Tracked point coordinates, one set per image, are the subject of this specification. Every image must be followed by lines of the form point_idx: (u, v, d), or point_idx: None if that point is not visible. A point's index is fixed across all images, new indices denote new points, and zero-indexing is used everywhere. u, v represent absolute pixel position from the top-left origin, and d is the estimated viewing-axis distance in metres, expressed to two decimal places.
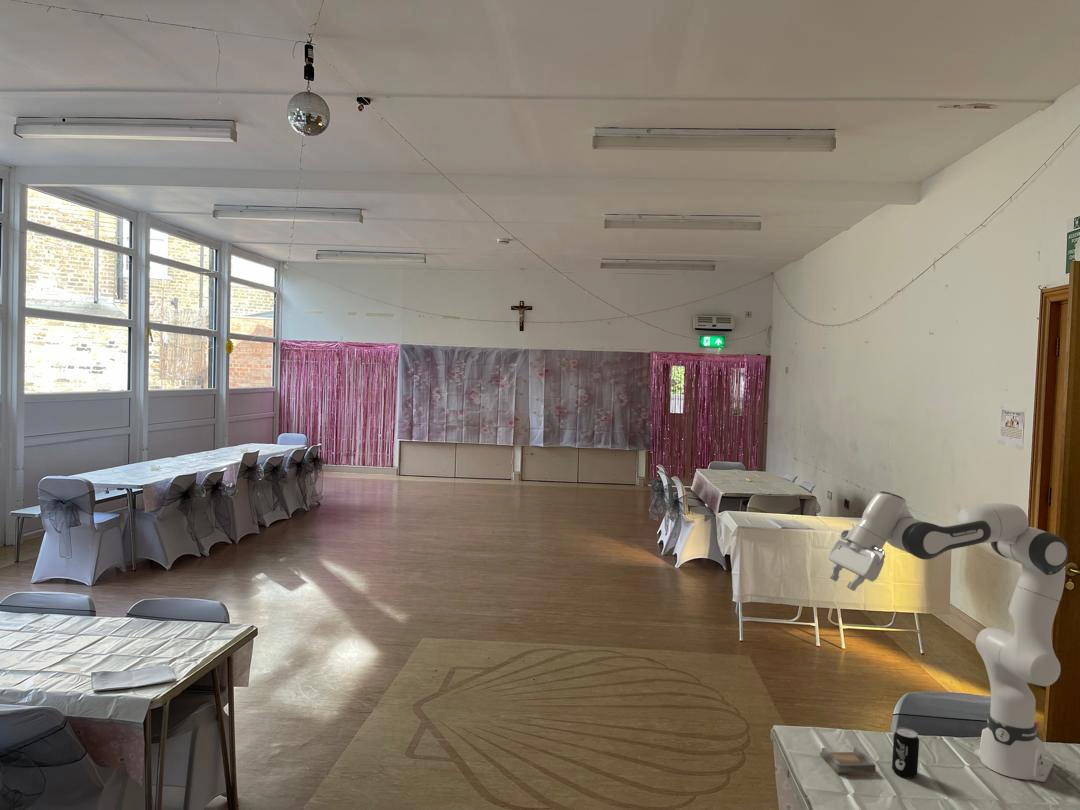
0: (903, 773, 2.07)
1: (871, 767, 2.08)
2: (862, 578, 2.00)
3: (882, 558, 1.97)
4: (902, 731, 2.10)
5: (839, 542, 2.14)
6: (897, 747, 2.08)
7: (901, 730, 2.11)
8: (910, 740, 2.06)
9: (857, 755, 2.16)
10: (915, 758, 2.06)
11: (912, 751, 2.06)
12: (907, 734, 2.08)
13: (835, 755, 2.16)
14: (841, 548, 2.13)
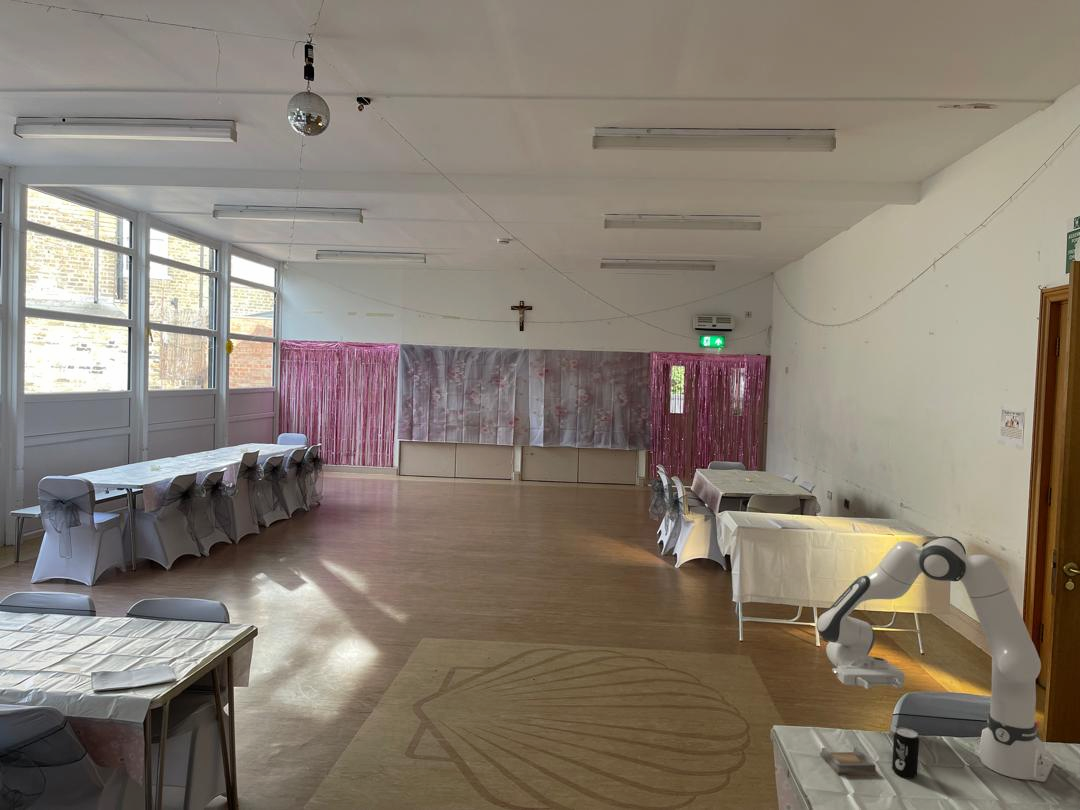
0: (903, 773, 2.07)
1: (871, 767, 2.08)
2: (856, 679, 2.24)
3: (833, 671, 2.31)
4: (902, 731, 2.10)
5: None
6: (897, 747, 2.08)
7: (901, 730, 2.11)
8: (910, 740, 2.06)
9: (857, 755, 2.16)
10: (915, 758, 2.06)
11: (912, 751, 2.06)
12: (907, 734, 2.08)
13: (835, 755, 2.16)
14: None
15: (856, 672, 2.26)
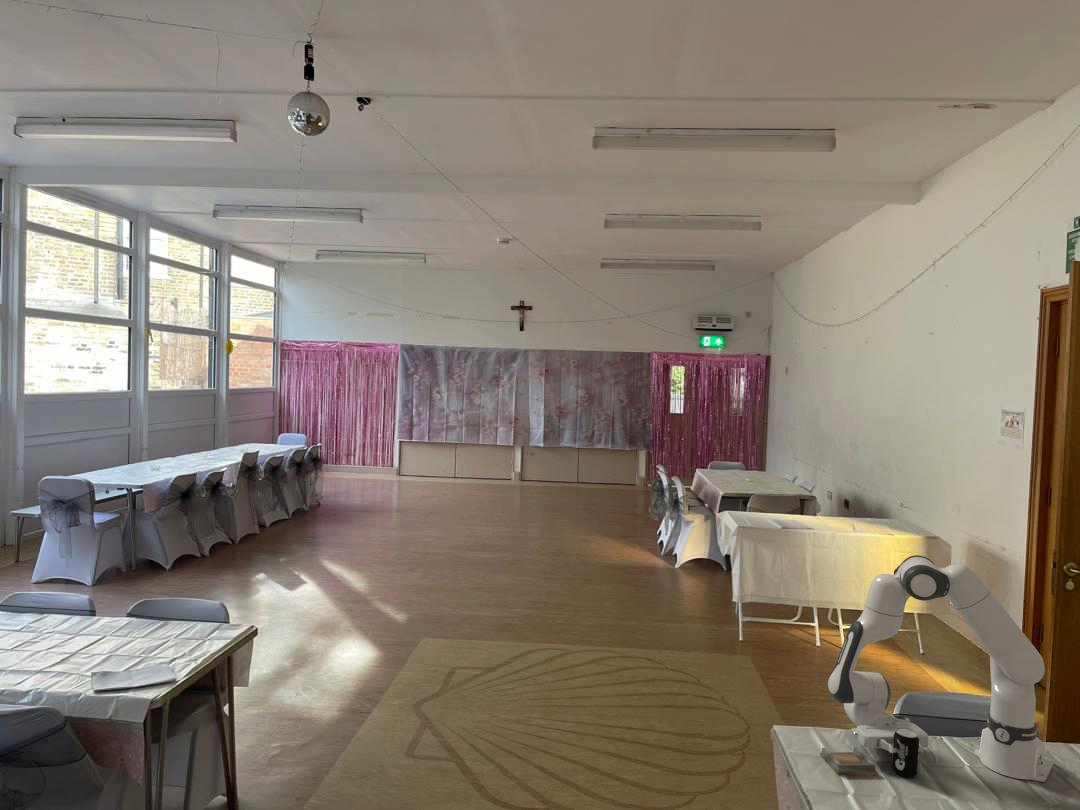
0: (903, 773, 2.07)
1: (871, 767, 2.08)
2: (880, 742, 2.12)
3: (852, 731, 2.19)
4: (902, 731, 2.10)
5: None
6: (897, 747, 2.08)
7: (901, 730, 2.11)
8: (910, 740, 2.06)
9: (857, 755, 2.16)
10: (915, 758, 2.06)
11: (912, 751, 2.06)
12: (907, 734, 2.08)
13: (835, 755, 2.16)
14: None
15: (877, 733, 2.14)
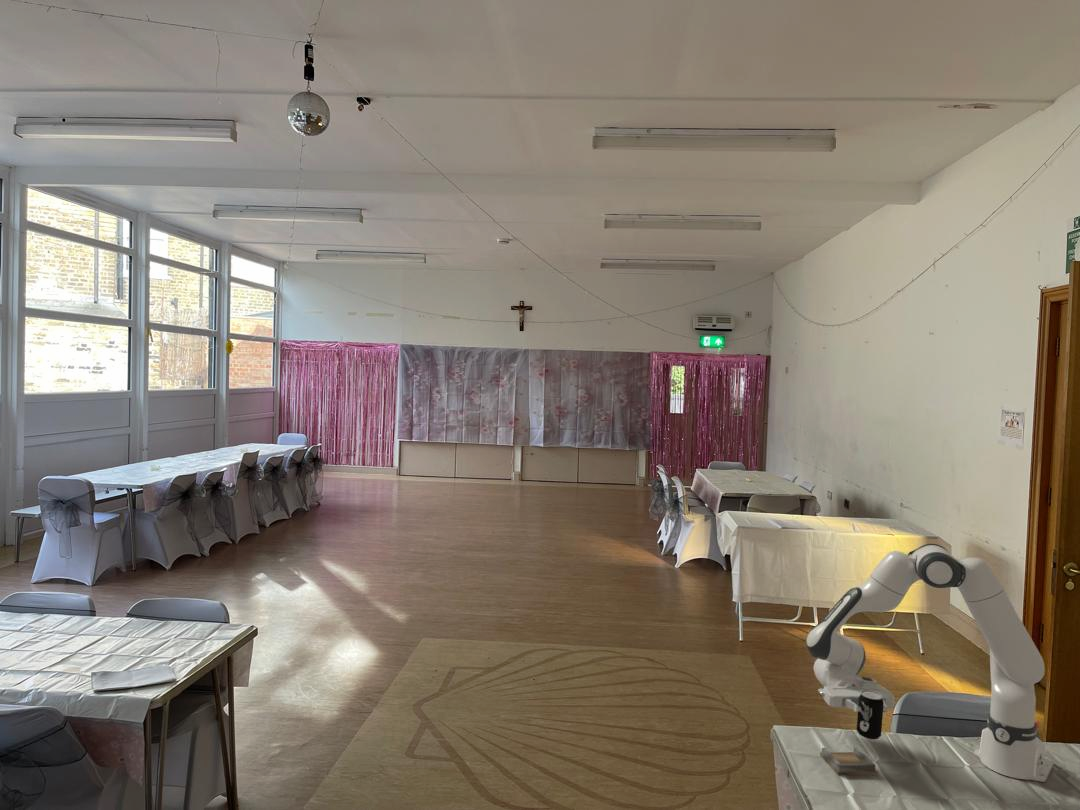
0: (867, 735, 2.09)
1: (871, 767, 2.08)
2: (845, 701, 2.14)
3: (819, 692, 2.21)
4: (867, 693, 2.12)
5: None
6: (862, 709, 2.10)
7: (866, 692, 2.13)
8: (874, 701, 2.08)
9: (857, 755, 2.16)
10: (879, 719, 2.08)
11: (876, 712, 2.08)
12: (872, 696, 2.10)
13: (835, 755, 2.16)
14: None
15: (843, 693, 2.16)
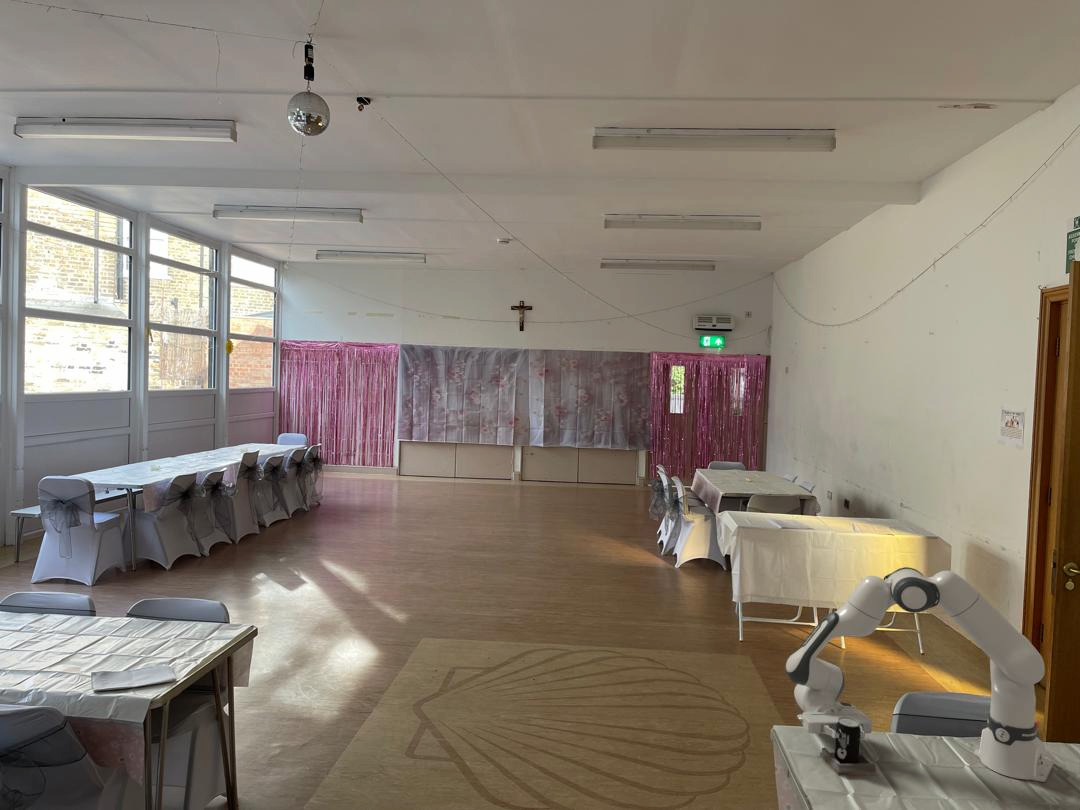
0: (844, 762, 2.10)
1: (871, 767, 2.08)
2: (824, 728, 2.15)
3: (798, 718, 2.22)
4: (844, 720, 2.14)
5: None
6: (839, 736, 2.11)
7: (843, 719, 2.14)
8: (851, 729, 2.10)
9: None
10: (856, 747, 2.10)
11: (853, 740, 2.09)
12: (849, 723, 2.12)
13: None
14: None
15: (821, 719, 2.17)
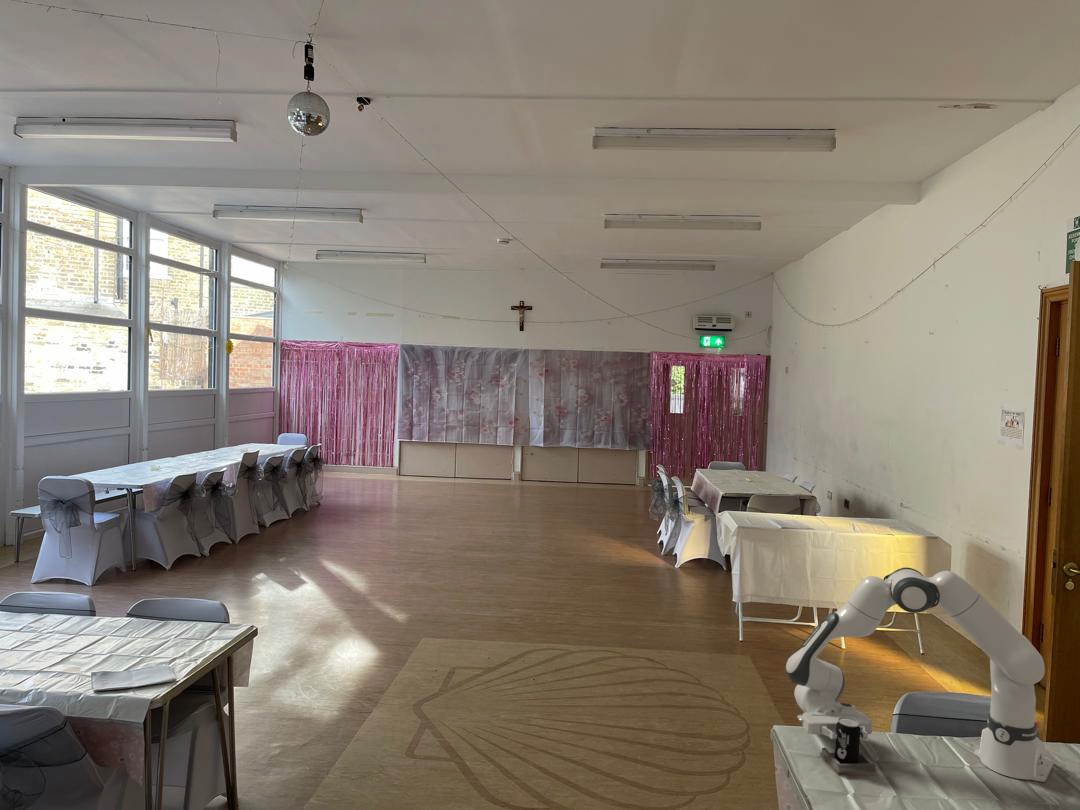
0: (844, 762, 2.10)
1: (871, 767, 2.08)
2: (821, 728, 2.15)
3: (798, 718, 2.22)
4: (844, 720, 2.14)
5: None
6: (839, 736, 2.11)
7: (843, 719, 2.14)
8: (851, 729, 2.10)
9: None
10: (856, 747, 2.10)
11: (853, 740, 2.09)
12: (849, 723, 2.12)
13: None
14: None
15: (821, 720, 2.17)
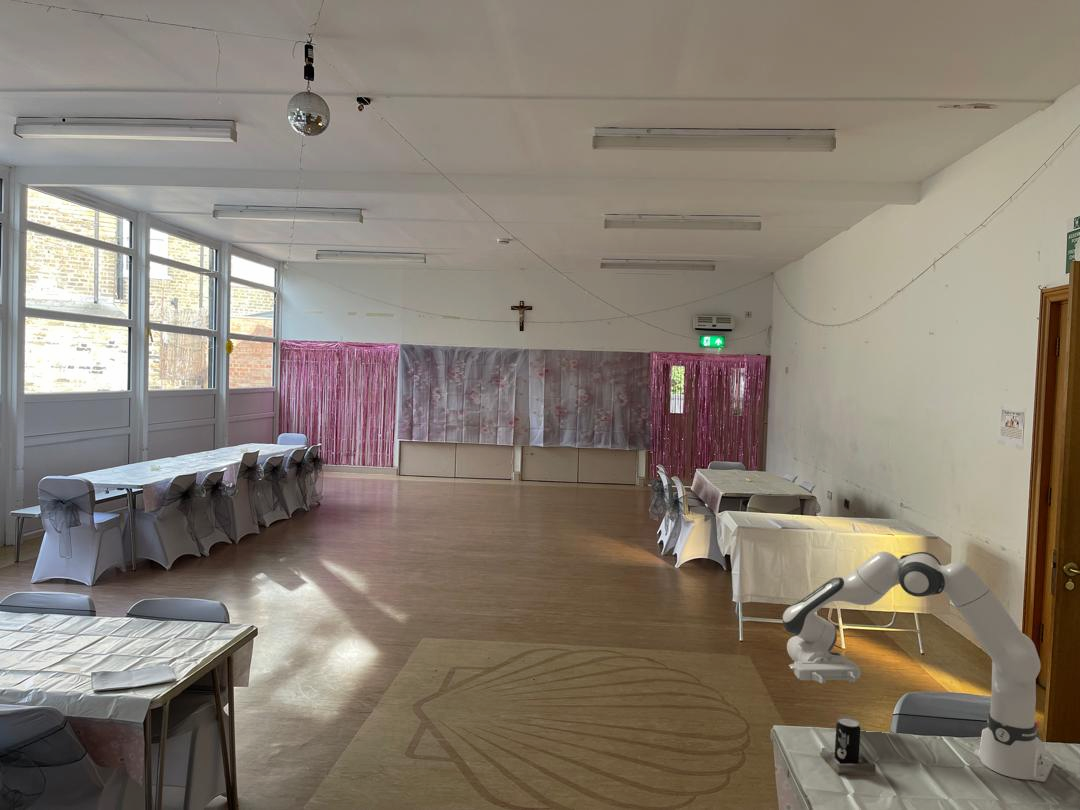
0: (844, 762, 2.10)
1: (871, 767, 2.08)
2: (811, 674, 2.27)
3: (790, 667, 2.34)
4: (844, 720, 2.14)
5: None
6: (839, 736, 2.11)
7: (843, 719, 2.14)
8: (851, 729, 2.10)
9: None
10: (856, 747, 2.10)
11: (853, 740, 2.09)
12: (849, 723, 2.12)
13: None
14: None
15: (811, 667, 2.29)
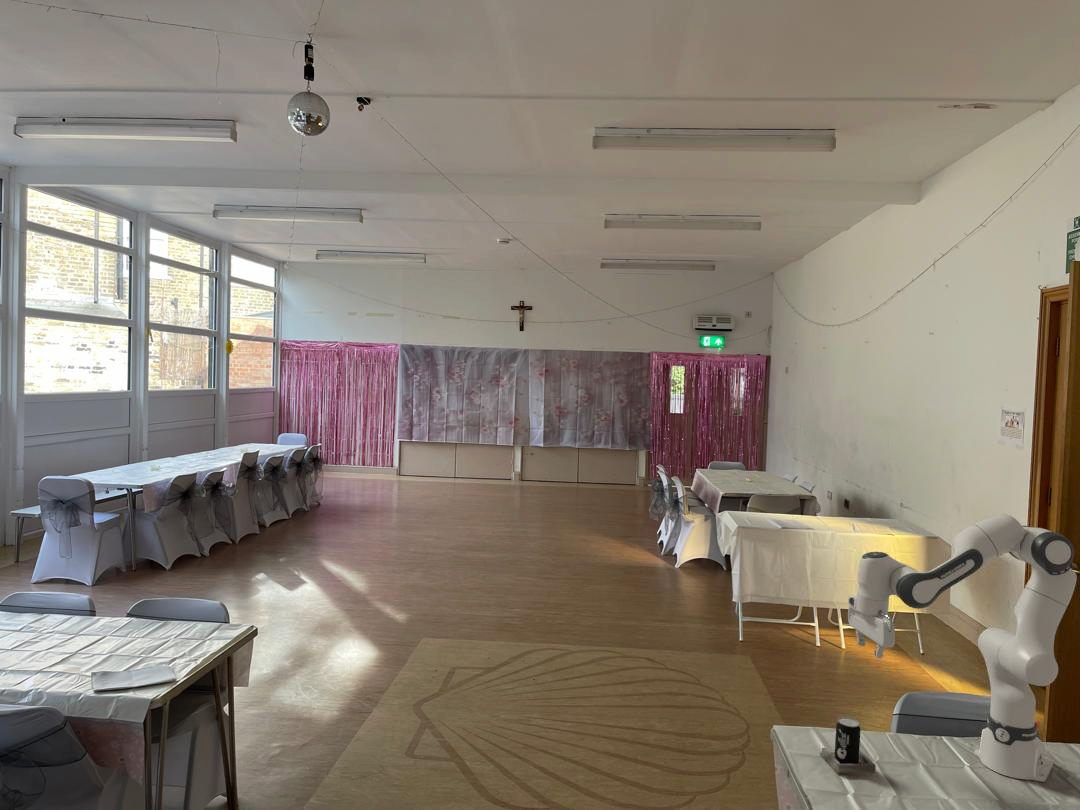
0: (844, 762, 2.10)
1: (871, 767, 2.08)
2: None
3: (891, 625, 2.09)
4: (844, 720, 2.14)
5: (851, 608, 2.27)
6: (839, 736, 2.11)
7: (843, 719, 2.14)
8: (851, 729, 2.10)
9: None
10: (856, 746, 2.10)
11: (853, 740, 2.09)
12: (849, 723, 2.12)
13: None
14: (855, 614, 2.26)
15: None
